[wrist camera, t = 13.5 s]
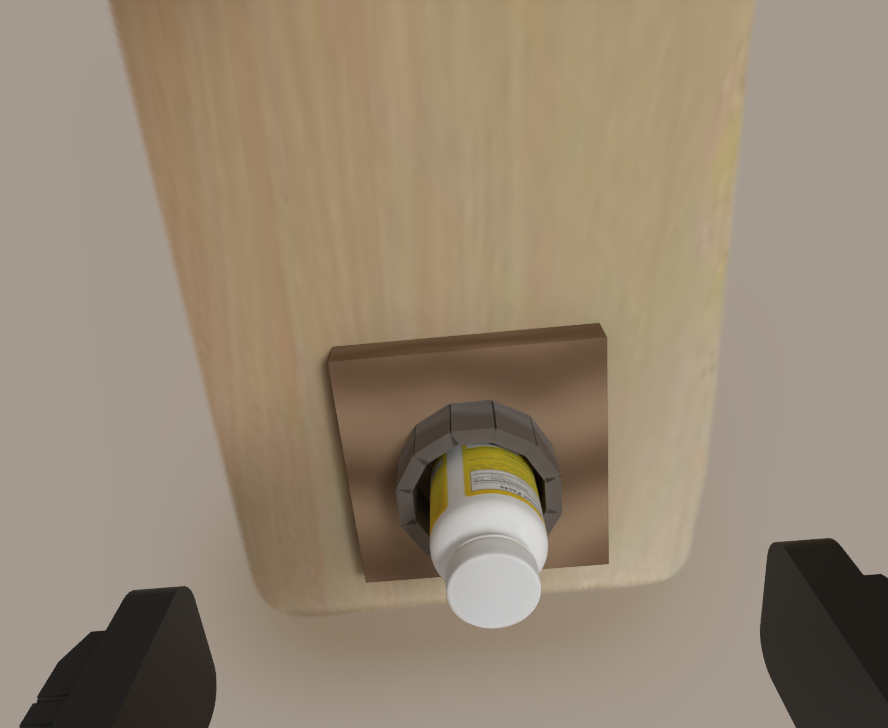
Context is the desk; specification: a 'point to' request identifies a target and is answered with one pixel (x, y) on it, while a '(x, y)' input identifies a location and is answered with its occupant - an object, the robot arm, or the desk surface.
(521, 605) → the supplement bottle
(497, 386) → the cup bracket
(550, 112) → the desk surface
